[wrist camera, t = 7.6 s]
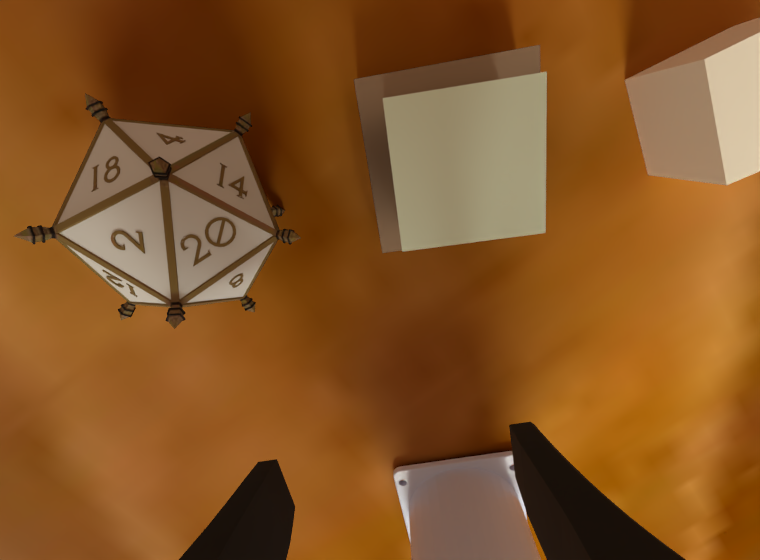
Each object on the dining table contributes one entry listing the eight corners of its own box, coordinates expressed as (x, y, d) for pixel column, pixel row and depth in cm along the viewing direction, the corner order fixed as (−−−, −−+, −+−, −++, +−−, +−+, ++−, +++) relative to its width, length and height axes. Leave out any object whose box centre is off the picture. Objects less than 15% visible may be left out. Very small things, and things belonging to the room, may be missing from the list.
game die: (252, 159, 22) (259, 12, 12) (307, 297, 21) (357, 251, 12) (68, 199, 18) (-113, 36, 9) (129, 364, 18) (7, 372, 9)
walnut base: (519, 216, 19) (542, 229, 16) (383, 237, 20) (382, 253, 17) (514, 61, 17) (539, 44, 14) (359, 89, 17) (353, 79, 14)
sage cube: (504, 208, 16) (545, 232, 12) (399, 222, 16) (402, 251, 12) (501, 91, 14) (546, 71, 10) (384, 110, 15) (382, 98, 11)
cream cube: (747, 129, 17) (864, 126, 13) (647, 174, 18) (726, 185, 14) (731, 26, 16) (856, -16, 12) (623, 79, 17) (704, 59, 12)
